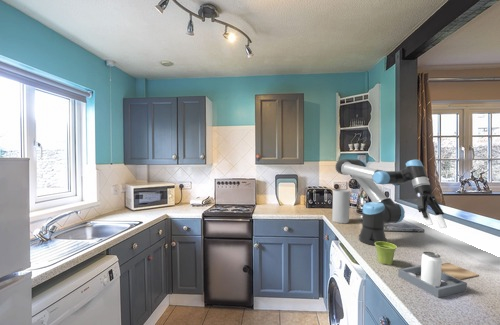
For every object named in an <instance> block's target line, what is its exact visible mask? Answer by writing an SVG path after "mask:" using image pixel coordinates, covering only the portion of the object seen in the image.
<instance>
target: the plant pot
mask: <svg viewBox="0 0 500 325" xmlns="http://www.w3.org/2000/svg"><path fill="white" fill-rule="evenodd" d="M375 245H376V246H375V249H376V253H377V254H376V255H377V261H378V263H380V264H381V265H388V266H389V265H392V264H393V262H394V257H395V253H396V249H397V248H398V246H397V245H396V244H394V243H391V242H389V241H387V242H381V241H378V242H375Z"/></svg>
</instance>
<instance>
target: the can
mask: <svg viewBox="0 0 500 325" xmlns="http://www.w3.org/2000/svg"><path fill="white" fill-rule="evenodd" d="M420 262H421V263H420V264H421V273H420V279H421V280H423V281H425V282H427V283H429V284H431V285H433V286H435V287H437V288H439V287H441V284H442V280H441V266H442V264H443V263H442V262H443V261H442V258H441V254H438V253H435V252H432V251H423V252H422V254H421V261H420Z"/></svg>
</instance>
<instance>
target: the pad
mask: <svg viewBox="0 0 500 325" xmlns="http://www.w3.org/2000/svg"><path fill="white" fill-rule="evenodd" d="M441 272H443V273H445V274H448V275H450V276H452V277H454V278H457V279H459V280H461V281H464V280H466V279H471V278H474V277H476V278H477V277H479V276H480V275H479V274H478V273H475V272H472V271H470V270H467V269H465V268H462V267H460V266H457V265H455V264H452V263H451V262H445V263H442V266H441Z"/></svg>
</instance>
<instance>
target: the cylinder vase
mask: <svg viewBox="0 0 500 325" xmlns="http://www.w3.org/2000/svg"><path fill="white" fill-rule="evenodd" d="M350 195H351V191H350V190H348V189H343V188H337V189H336V188H335V189H332V211H331V212H332V215H331V216H332V217H331V220H332V222H334V223H335V224H348V223H350V204H351V203H350V200H351V196H350Z"/></svg>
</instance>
